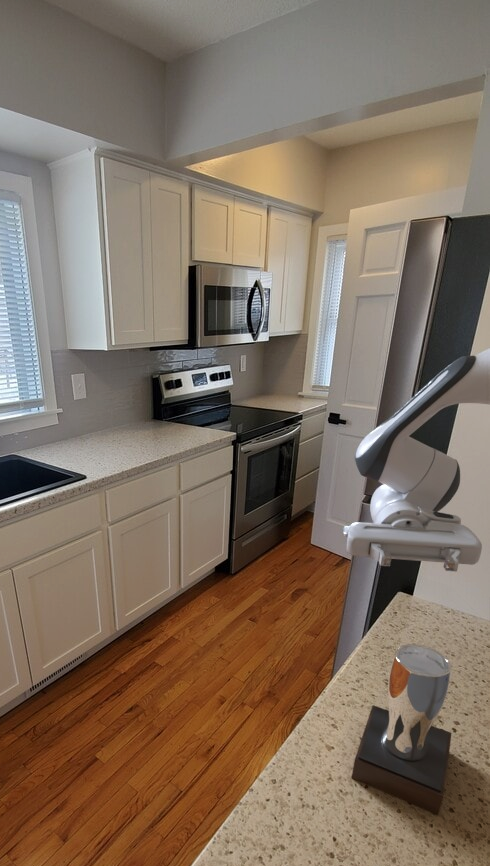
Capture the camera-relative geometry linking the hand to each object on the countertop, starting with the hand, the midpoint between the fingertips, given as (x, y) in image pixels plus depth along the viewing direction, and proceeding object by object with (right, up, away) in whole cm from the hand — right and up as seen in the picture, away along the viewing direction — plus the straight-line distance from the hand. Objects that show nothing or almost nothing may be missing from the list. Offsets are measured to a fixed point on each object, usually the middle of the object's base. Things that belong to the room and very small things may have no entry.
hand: (418, 564), depth 75 cm
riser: (-5, -29, -4) cm, 30 cm away
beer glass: (-5, -25, -6) cm, 27 cm away
